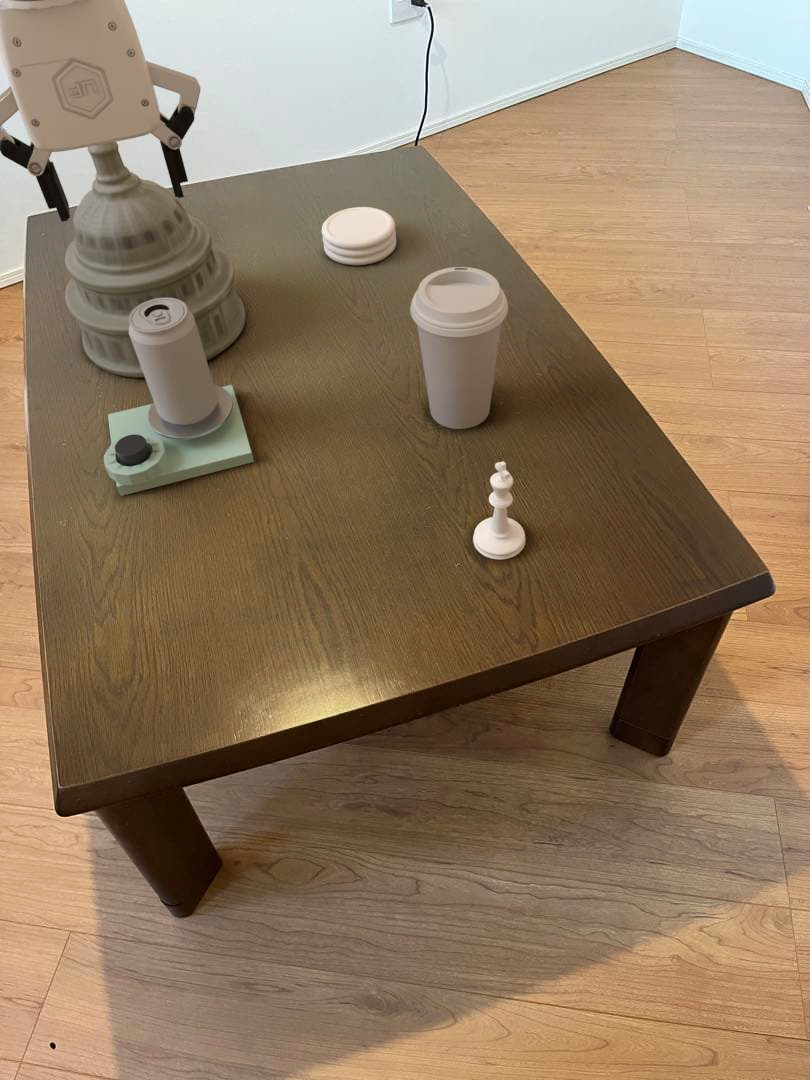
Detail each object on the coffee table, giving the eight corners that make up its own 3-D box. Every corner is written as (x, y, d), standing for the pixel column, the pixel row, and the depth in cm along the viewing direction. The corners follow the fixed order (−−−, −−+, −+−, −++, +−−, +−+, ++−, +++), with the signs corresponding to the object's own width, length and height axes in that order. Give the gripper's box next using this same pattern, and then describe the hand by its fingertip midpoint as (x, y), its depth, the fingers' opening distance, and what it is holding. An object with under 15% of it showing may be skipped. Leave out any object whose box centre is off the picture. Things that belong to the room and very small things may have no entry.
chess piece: (490, 567, 76) (492, 491, 69) (463, 532, 79) (463, 456, 72) (535, 546, 78) (542, 470, 70) (507, 513, 81) (511, 436, 73)
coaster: (310, 256, 114) (306, 232, 111) (350, 222, 119) (348, 199, 116) (371, 274, 110) (368, 249, 107) (410, 238, 115) (408, 214, 113)
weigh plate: (153, 448, 85) (152, 446, 85) (144, 395, 91) (143, 393, 91) (239, 427, 87) (239, 424, 86) (225, 376, 92) (224, 374, 92)
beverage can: (209, 383, 91) (180, 287, 82) (227, 416, 87) (199, 319, 78) (152, 402, 90) (117, 306, 81) (168, 437, 86) (133, 340, 77)
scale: (115, 501, 85) (106, 480, 83) (106, 424, 93) (97, 404, 91) (255, 465, 87) (249, 444, 85) (234, 394, 95) (229, 372, 93)
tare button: (120, 470, 84) (115, 458, 83) (118, 449, 86) (113, 438, 85) (152, 462, 84) (147, 450, 83) (149, 442, 87) (144, 430, 85)
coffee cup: (517, 395, 92) (524, 274, 81) (481, 449, 87) (483, 327, 75) (440, 373, 95) (436, 254, 84) (400, 423, 90) (391, 304, 79)
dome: (211, 144, 81) (-3, 186, 77) (260, 355, 100) (90, 396, 96) (181, 71, 93) (-3, 106, 90) (230, 271, 112) (79, 305, 109)
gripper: (-87, 4, 55) (19, 244, 68) (174, -37, 57) (228, 201, 70) (-79, -27, 59) (18, 203, 72) (162, -64, 62) (215, 164, 75)
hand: (122, 202), depth 71 cm, fingers open, 9 cm apart
